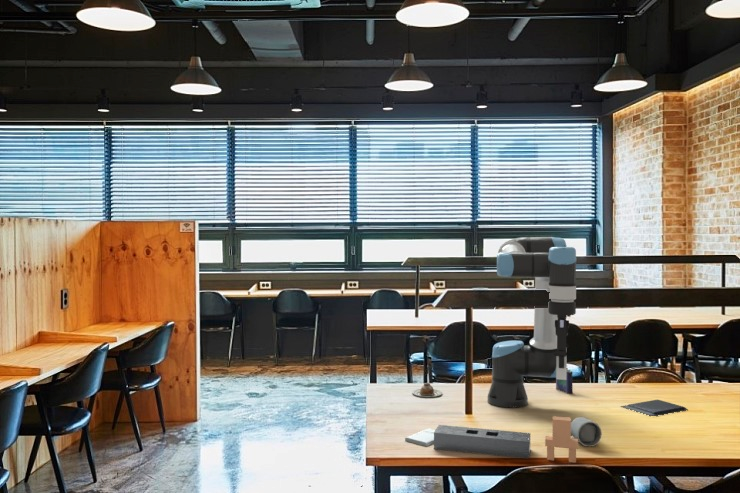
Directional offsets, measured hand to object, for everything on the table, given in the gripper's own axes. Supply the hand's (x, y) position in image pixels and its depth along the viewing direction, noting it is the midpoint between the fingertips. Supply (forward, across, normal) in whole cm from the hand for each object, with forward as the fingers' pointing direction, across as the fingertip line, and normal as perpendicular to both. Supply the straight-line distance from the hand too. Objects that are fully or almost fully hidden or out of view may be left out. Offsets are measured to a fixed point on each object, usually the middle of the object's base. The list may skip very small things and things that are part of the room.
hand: (561, 374), depth 182 cm
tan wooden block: (+25, 0, 0) cm, 25 cm away
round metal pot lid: (+25, -60, -52) cm, 83 cm away
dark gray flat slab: (+25, -65, +33) cm, 77 cm away
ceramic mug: (+25, -17, +6) cm, 31 cm away
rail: (+25, -2, -23) cm, 34 cm away
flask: (+25, -81, +1) cm, 85 cm away
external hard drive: (+26, -7, -41) cm, 49 cm away
